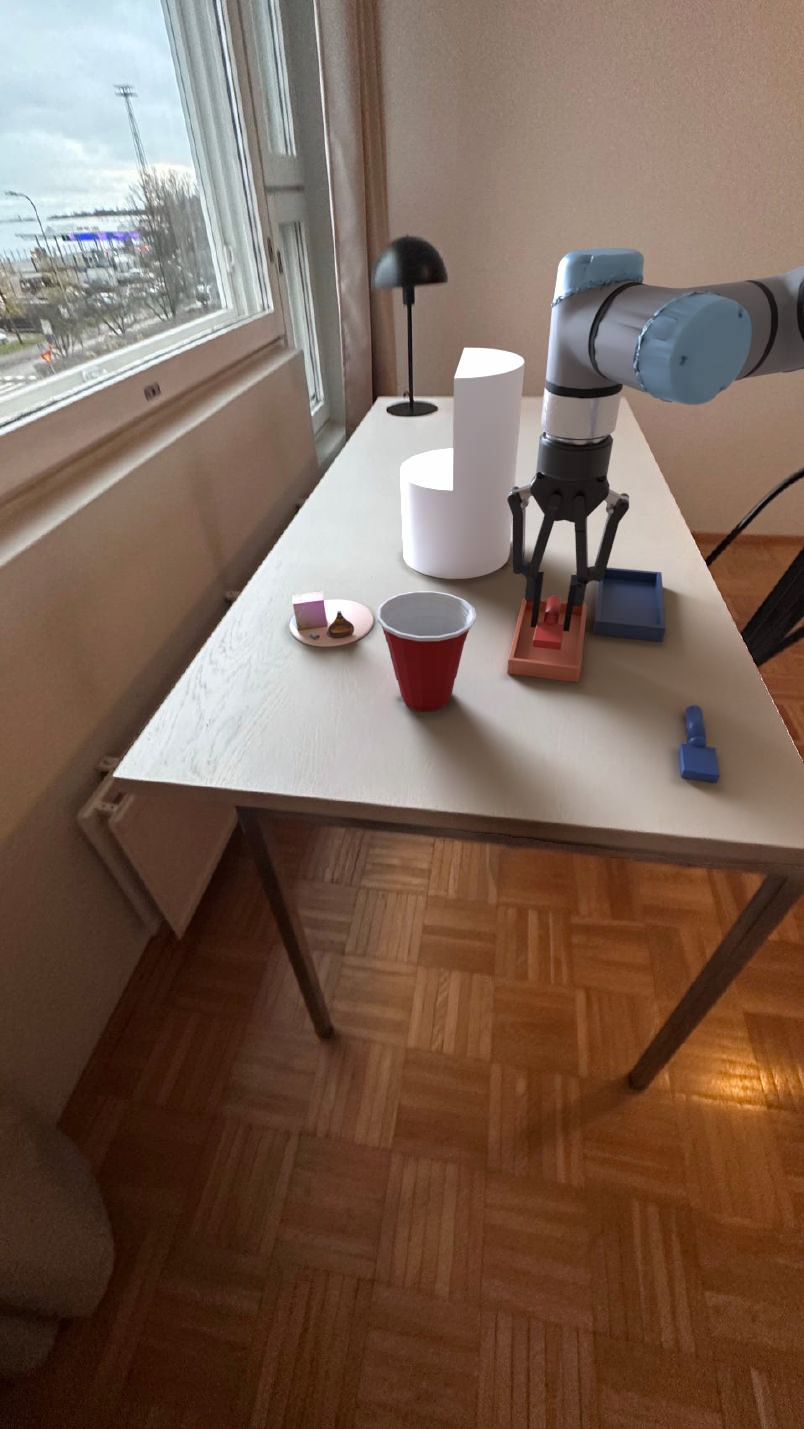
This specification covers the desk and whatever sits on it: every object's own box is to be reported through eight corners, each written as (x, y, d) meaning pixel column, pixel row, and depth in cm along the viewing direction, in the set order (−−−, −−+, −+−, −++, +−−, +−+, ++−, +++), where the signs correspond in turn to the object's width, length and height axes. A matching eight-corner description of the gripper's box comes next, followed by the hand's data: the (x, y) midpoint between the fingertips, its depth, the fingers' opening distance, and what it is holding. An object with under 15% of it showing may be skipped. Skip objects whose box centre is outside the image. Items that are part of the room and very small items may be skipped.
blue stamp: (675, 711, 72) (679, 699, 71) (707, 716, 71) (711, 703, 70) (680, 777, 64) (685, 765, 63) (716, 783, 64) (721, 771, 62)
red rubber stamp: (541, 602, 86) (542, 591, 84) (566, 605, 85) (568, 593, 84) (532, 646, 78) (533, 634, 77) (560, 650, 77) (562, 638, 76)
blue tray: (658, 584, 93) (661, 572, 92) (661, 642, 82) (665, 628, 81) (597, 579, 95) (599, 566, 94) (593, 634, 84) (595, 620, 83)
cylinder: (510, 531, 109) (524, 347, 90) (507, 581, 96) (524, 378, 78) (411, 528, 111) (405, 348, 93) (395, 576, 98) (385, 378, 80)
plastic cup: (488, 685, 77) (493, 599, 69) (444, 737, 70) (445, 649, 62) (412, 659, 82) (409, 576, 74) (364, 706, 75) (356, 620, 67)
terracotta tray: (584, 616, 88) (587, 603, 86) (578, 682, 77) (581, 668, 75) (521, 610, 90) (523, 597, 88) (506, 673, 79) (508, 659, 77)
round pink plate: (291, 652, 84) (286, 623, 81) (286, 606, 93) (281, 579, 90) (380, 639, 85) (378, 610, 82) (367, 595, 94) (364, 568, 91)
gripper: (658, 425, 67) (617, 615, 82) (503, 418, 70) (491, 602, 86) (661, 449, 61) (616, 647, 77) (492, 441, 65) (482, 632, 80)
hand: (550, 623), depth 81 cm, fingers closed on red rubber stamp, 3 cm apart
